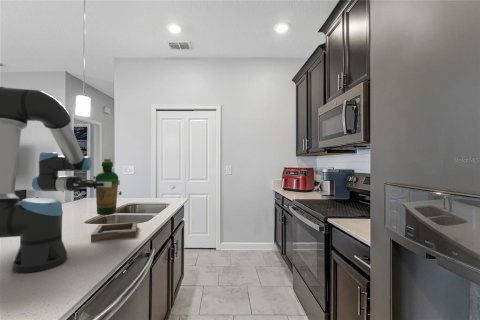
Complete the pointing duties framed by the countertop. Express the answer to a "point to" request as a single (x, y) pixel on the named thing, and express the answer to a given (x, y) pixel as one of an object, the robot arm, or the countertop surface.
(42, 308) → the countertop surface
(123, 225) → the walnut frame
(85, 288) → the countertop surface
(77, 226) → the countertop surface
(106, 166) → the bottle
